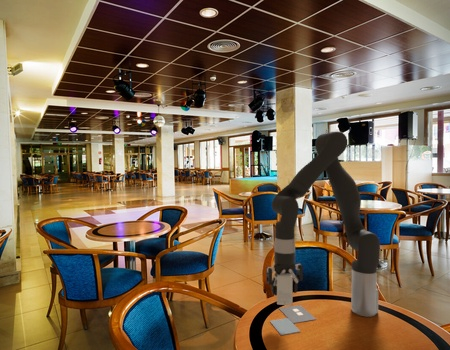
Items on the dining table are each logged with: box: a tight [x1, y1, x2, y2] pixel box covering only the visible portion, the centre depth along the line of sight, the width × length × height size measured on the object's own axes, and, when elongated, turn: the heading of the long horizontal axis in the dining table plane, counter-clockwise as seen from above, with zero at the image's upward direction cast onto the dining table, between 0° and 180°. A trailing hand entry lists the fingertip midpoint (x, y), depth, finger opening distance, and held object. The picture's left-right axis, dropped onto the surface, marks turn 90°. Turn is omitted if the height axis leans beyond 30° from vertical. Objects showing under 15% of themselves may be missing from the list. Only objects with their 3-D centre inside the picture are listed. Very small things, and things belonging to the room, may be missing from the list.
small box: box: [276, 273, 294, 306], centre depth 111 cm, size 8×6×10 cm
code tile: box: [278, 304, 317, 325], centre depth 120 cm, size 10×12×1 cm
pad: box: [269, 317, 301, 336], centre depth 111 cm, size 8×10×1 cm
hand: (284, 293), depth 111 cm, fingers closed on small box, 7 cm apart
